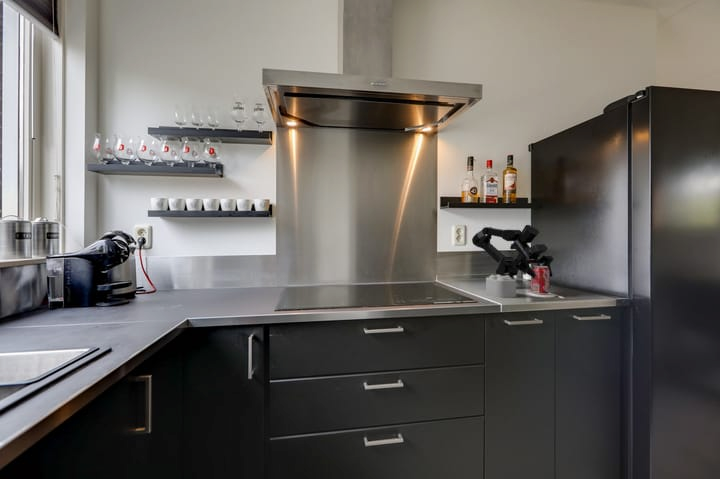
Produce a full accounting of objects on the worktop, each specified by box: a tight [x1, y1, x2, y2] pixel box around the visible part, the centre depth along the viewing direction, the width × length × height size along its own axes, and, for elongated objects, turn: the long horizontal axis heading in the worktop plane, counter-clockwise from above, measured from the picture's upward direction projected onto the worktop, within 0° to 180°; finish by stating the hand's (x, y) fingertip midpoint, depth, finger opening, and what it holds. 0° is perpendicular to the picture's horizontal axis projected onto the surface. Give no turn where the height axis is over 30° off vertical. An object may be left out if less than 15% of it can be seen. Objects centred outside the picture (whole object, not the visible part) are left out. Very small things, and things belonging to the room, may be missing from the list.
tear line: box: [550, 292, 565, 299], centre depth 137 cm, size 12×1×1 cm, turn 175°
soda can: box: [530, 265, 551, 295], centre depth 138 cm, size 7×7×12 cm
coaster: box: [525, 291, 556, 299], centre depth 138 cm, size 11×11×1 cm
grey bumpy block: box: [485, 274, 517, 299], centre depth 138 cm, size 10×13×9 cm
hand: (543, 276), depth 136 cm, fingers open, 9 cm apart
